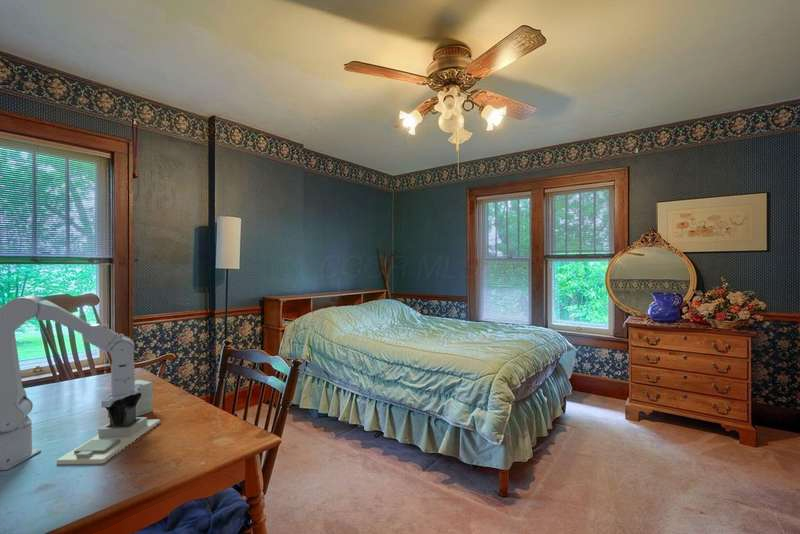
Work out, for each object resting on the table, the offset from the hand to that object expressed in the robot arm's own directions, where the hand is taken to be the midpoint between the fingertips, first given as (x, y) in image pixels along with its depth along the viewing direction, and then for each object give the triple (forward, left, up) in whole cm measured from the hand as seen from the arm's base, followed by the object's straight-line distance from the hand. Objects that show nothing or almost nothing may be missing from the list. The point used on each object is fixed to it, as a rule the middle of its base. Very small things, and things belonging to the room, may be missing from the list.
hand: (123, 421), depth 112 cm
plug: (0, 0, -2) cm, 2 cm away
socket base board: (-4, 0, -4) cm, 6 cm away
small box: (+17, +7, -4) cm, 19 cm away
